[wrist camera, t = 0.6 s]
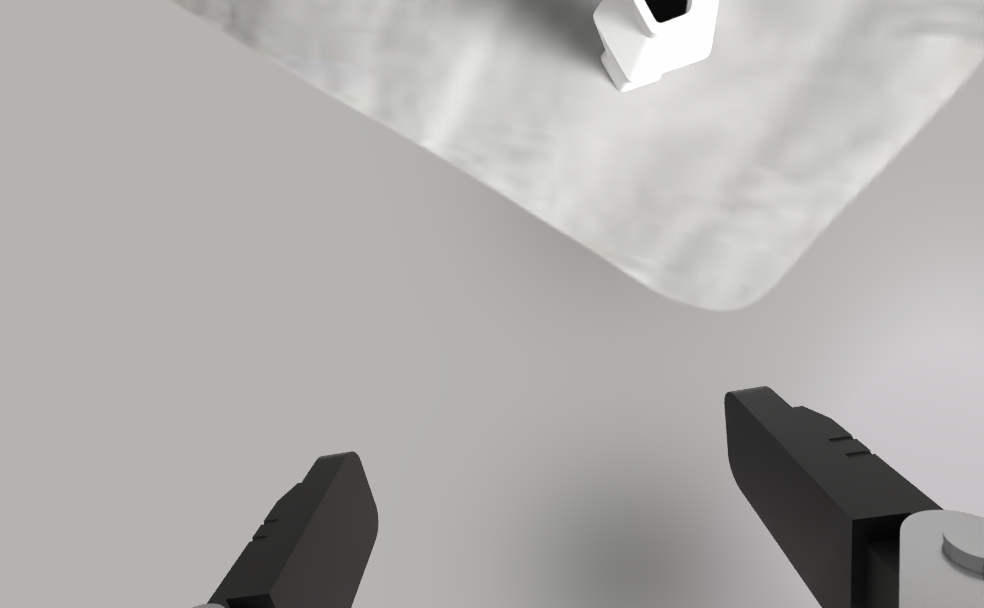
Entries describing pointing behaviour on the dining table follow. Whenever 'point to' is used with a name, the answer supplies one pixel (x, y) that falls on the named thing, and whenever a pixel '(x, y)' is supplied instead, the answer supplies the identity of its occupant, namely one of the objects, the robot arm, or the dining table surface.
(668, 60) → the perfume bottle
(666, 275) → the dining table surface
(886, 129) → the dining table surface
